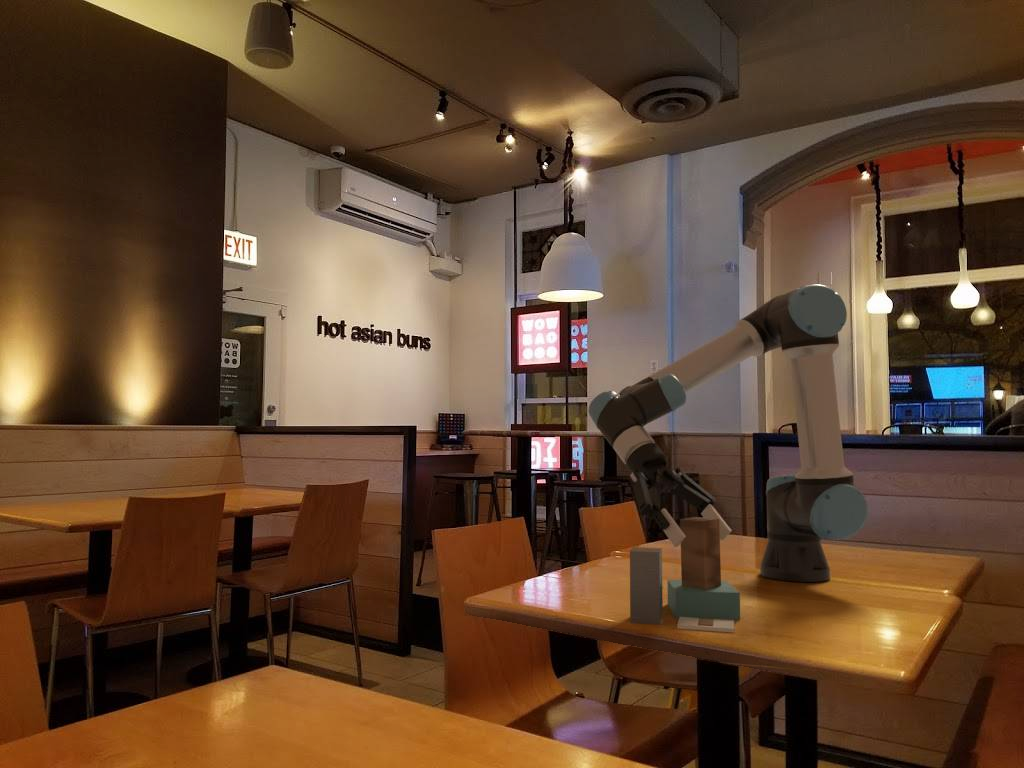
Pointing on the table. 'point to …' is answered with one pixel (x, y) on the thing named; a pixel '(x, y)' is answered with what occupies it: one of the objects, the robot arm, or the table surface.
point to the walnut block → (700, 553)
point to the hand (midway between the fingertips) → (704, 538)
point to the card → (706, 624)
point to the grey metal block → (646, 585)
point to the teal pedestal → (704, 601)
